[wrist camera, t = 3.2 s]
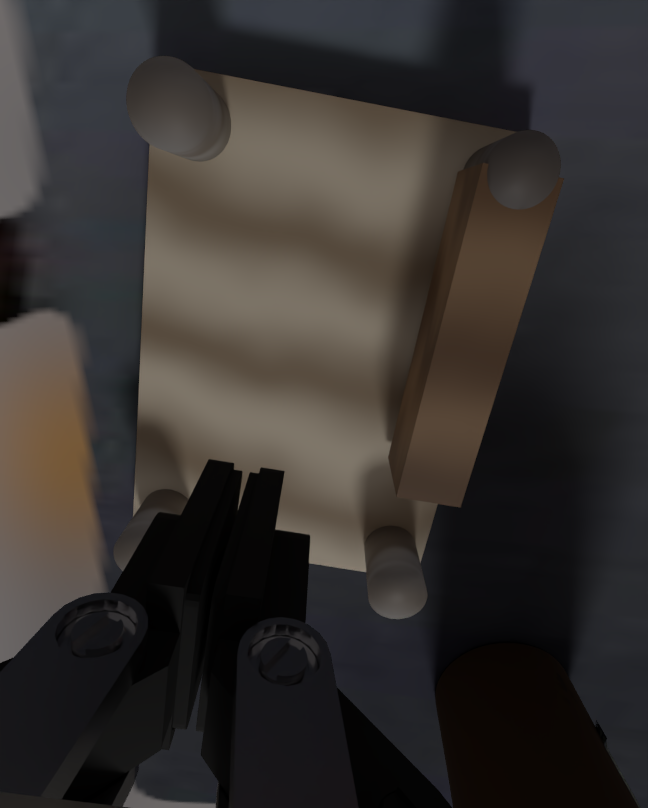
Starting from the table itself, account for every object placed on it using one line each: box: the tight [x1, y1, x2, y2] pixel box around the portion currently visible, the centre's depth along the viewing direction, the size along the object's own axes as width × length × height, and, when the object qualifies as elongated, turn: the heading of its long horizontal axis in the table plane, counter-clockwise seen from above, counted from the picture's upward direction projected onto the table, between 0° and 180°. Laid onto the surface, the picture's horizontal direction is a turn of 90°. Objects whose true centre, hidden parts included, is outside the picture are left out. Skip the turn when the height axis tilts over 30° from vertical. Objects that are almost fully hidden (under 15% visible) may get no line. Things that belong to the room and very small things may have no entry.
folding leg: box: [388, 130, 564, 507], centre depth 22 cm, size 15×3×4 cm, turn 170°
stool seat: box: [114, 56, 516, 619], centre depth 25 cm, size 24×17×6 cm
